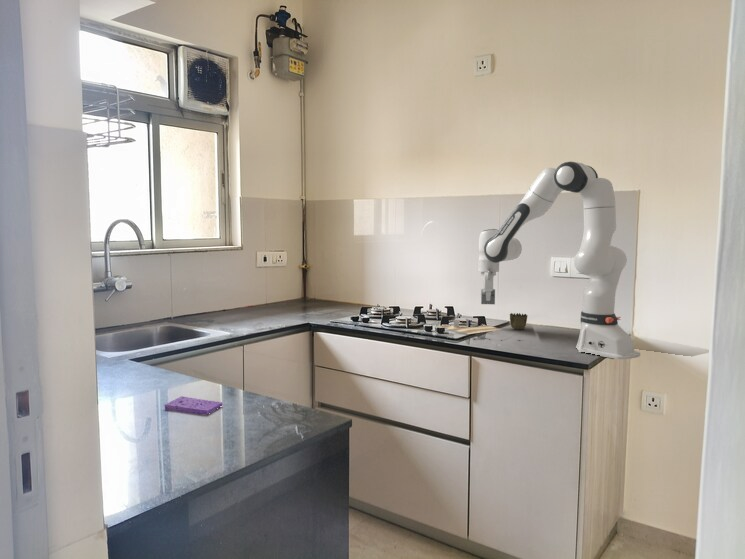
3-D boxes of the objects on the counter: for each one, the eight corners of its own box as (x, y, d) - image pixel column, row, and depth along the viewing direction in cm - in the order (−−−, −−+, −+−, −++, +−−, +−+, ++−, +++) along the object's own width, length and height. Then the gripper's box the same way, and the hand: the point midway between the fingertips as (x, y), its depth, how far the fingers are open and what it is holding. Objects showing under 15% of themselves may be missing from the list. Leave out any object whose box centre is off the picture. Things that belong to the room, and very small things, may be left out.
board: (502, 332, 245) (503, 329, 245) (468, 337, 234) (468, 333, 234) (470, 325, 261) (470, 321, 261) (436, 329, 250) (436, 325, 250)
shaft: (459, 326, 249) (459, 319, 249) (459, 327, 247) (459, 320, 247) (453, 326, 250) (454, 319, 249) (453, 327, 247) (453, 320, 247)
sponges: (181, 403, 149) (181, 395, 148) (223, 408, 145) (223, 401, 145) (163, 411, 142) (163, 404, 142) (207, 417, 138) (207, 409, 138)
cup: (527, 334, 241) (528, 316, 241) (509, 333, 243) (510, 315, 242) (526, 331, 249) (526, 313, 248) (508, 330, 250) (509, 312, 249)
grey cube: (494, 302, 247) (494, 288, 246) (495, 304, 241) (495, 289, 241) (481, 302, 248) (481, 287, 247) (481, 304, 242) (481, 289, 242)
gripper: (496, 269, 232) (496, 302, 234) (495, 265, 252) (495, 297, 254) (481, 269, 234) (480, 302, 235) (481, 265, 254) (480, 296, 255)
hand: (488, 299), depth 244 cm, fingers closed on grey cube, 6 cm apart
